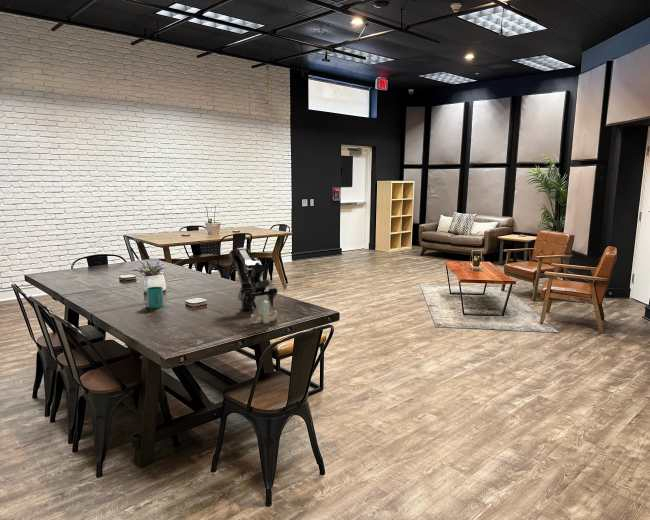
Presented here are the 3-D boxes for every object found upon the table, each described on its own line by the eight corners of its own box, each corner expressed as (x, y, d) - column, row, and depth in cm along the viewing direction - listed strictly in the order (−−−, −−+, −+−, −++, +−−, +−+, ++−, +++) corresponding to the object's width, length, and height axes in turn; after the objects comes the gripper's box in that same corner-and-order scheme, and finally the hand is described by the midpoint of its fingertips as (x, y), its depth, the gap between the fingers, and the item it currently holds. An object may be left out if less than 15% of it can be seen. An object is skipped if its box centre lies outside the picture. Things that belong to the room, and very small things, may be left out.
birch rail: (252, 323, 251) (252, 315, 250) (251, 322, 252) (251, 314, 252) (277, 319, 257) (277, 311, 257) (275, 319, 259) (275, 310, 258)
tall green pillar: (259, 320, 257) (258, 300, 256) (264, 319, 259) (263, 299, 257) (264, 323, 251) (263, 302, 249) (269, 322, 253) (268, 302, 251)
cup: (151, 310, 278) (150, 291, 276) (146, 306, 287) (144, 287, 286) (167, 308, 283) (166, 289, 281) (161, 303, 292) (160, 285, 291)
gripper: (243, 276, 251) (251, 301, 243) (276, 273, 260) (284, 297, 252) (238, 288, 259) (246, 313, 251) (270, 284, 268) (279, 308, 260)
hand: (264, 307), depth 253 cm, fingers open, 9 cm apart
